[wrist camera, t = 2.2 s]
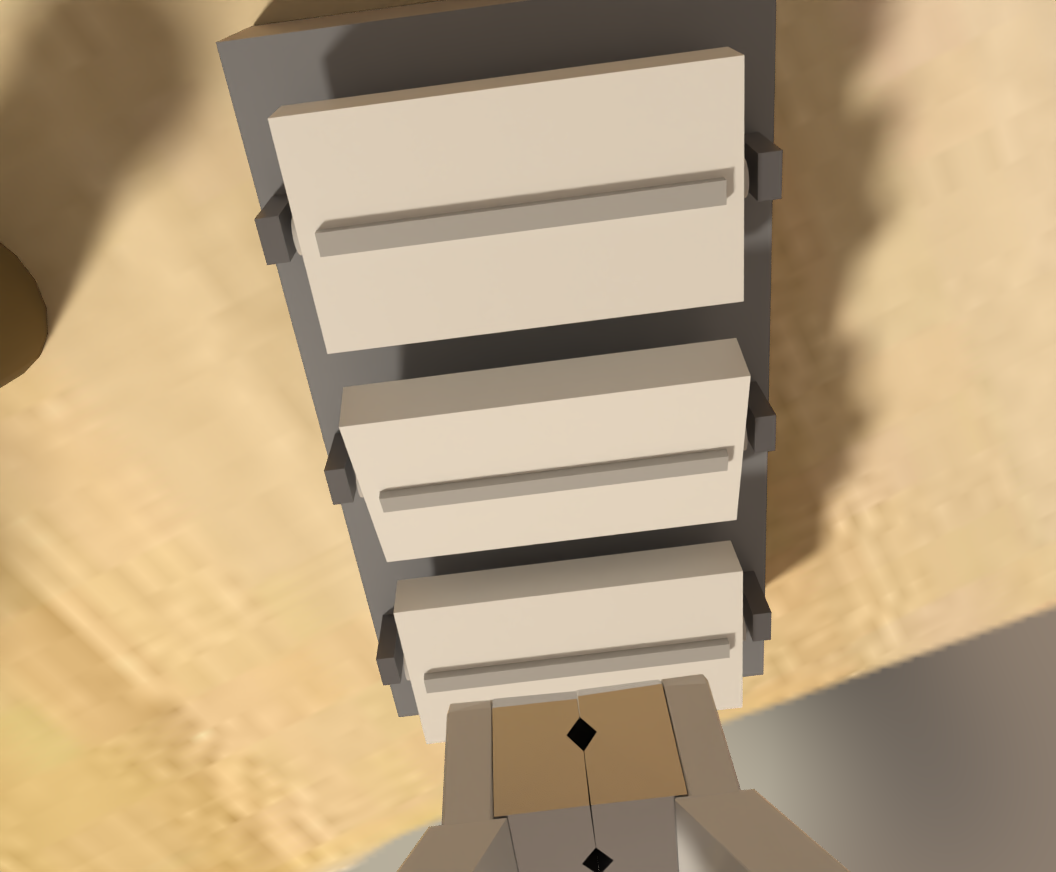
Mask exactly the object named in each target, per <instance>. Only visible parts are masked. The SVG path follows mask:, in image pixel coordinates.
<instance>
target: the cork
mask: <svg viewBox="0 0 1056 872" xmlns="http://www.w3.org/2000/svg"><path fill="white" fill-rule="evenodd" d="M47 334H48V332H47V313H46V306H45V304H44V301H43V299H42V296H41V294H40V291H39V289H38V286H37V284H36V281H35V280H34V278H33V277H32V276H31V275H30V273H29V272H28V271H27V269H26V268H25V267H24V265H23V264H22V263H21V262H20V260H19V259H18V258H17V256H16V255H15V254H13V253H12V252H11V251H10V250H8V249H7V248H6V247H5V246H3V245H2V244H1V243H0V388H1V387H3V386H4V385H6V384H7V383H9V382H11V381H12V380H14V379H15V378H17V377H19V376H20V375H22V374H23V373H25V372H26V370H27V369H28V368H29V367H30V366H31V365H32V364H33V363H34V362H35V361H36V360H37V359H38V357H39V356H40V354H41V351H42V348H43V346H44V343H45V340H46V337H47Z"/></svg>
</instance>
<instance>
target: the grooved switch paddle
mask: <svg viewBox="0 0 1056 872" xmlns="http://www.w3.org/2000/svg"><path fill="white" fill-rule="evenodd" d="M393 614H394V618H395V622H396V625H397V629H398V633H399V637H400V641H401V645H402V649H403V653H404V671H405V676H406V679H407V680H410V681H411V684H412V688H413V692H414V696H415V700H416V704H417V708H418V712H419V716H420V720H421V724H422V728H423V732H424V736H425V740H426V744H432V743H440V742H446V722H447V713H448V710H449V707H450V704H452V703H463V702H474V701H484V700H493V699H497V698H508V697H518V696H529V695H540V694H550V693H561V692H571V691H576V692H577V690H581V689H589V688H596V687H604V686H612V685H619V684H627V683H635V682H642V681H650V680H658V679H659V680H660V681H661V679H667V678H675V677H683V676H690V675H698V674H703V675H704V676H705V677H706V678H707V680H708V682H709V685H710V689H711V692H712V696H713V699H714V702H715V706H716V709H717V710H723V709H732V708H740V707H742V671H743V641H745V640H746V626H745V621H744V617H743V570H742V568H741V565H740V563H739V560H738V558H737V555H736V553H735V550H734V548H733V545H732V543H731V540H729V541H721V542H712V543H704V544H696V545H688V546H679V547H671V548H663V549H654V550H646V551H638V552H630V553H621V554H613V555H605V556H596V557H588V558H580V559H572V560H563V561H555V562H547V563H539V564H530V565H522V566H514V567H505V568H497V569H489V570H481V571H472V572H464V573H456V574H447V575H439V576H431V577H423V578H414V579H406V580H398V581H397V589H396V597H395V604H394V612H393ZM577 699H578V696H577ZM578 707H579V704H578ZM579 714H580V713H579Z"/></svg>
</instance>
